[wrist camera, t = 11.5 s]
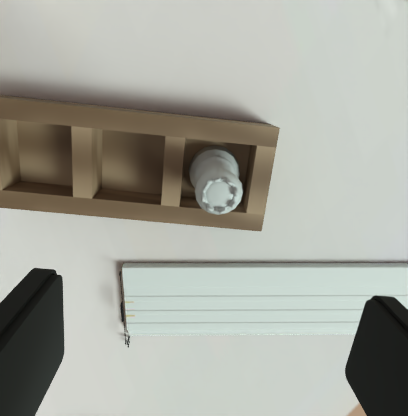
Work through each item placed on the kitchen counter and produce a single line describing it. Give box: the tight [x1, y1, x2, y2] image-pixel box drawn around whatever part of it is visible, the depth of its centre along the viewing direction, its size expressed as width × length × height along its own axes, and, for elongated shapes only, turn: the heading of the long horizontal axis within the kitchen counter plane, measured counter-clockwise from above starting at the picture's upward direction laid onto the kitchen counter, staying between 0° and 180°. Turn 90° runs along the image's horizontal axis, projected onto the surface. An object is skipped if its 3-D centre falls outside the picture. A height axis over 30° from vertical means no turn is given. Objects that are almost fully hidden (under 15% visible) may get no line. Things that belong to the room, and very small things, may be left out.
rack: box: [0, 95, 279, 231], centre depth 27 cm, size 9×23×4 cm, turn 84°
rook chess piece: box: [189, 146, 243, 215], centre depth 25 cm, size 4×4×8 cm
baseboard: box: [119, 263, 408, 347], centre depth 34 cm, size 30×3×10 cm
